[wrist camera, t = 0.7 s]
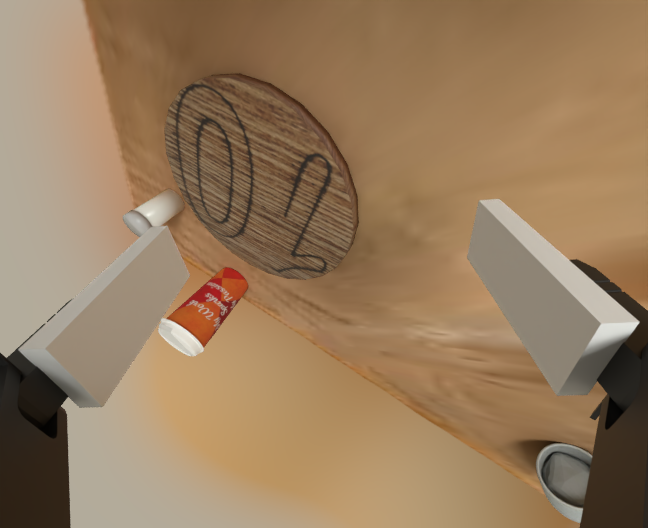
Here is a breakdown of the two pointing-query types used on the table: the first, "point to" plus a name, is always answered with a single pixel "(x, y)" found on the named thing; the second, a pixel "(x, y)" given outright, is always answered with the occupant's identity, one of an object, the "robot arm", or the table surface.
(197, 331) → the paper cup
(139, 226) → the salt shaker
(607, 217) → the table surface
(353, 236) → the trivet
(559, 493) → the ceramic mug
